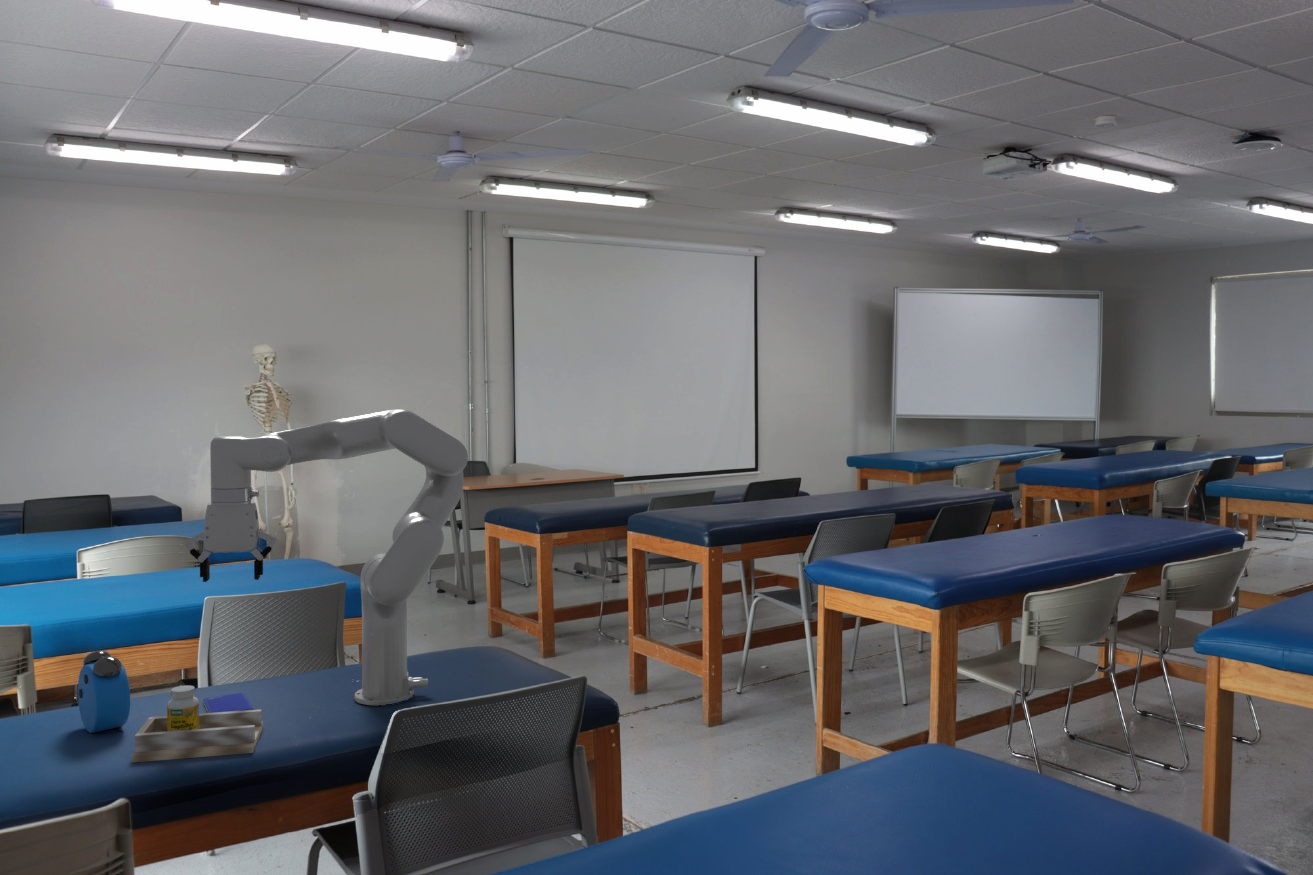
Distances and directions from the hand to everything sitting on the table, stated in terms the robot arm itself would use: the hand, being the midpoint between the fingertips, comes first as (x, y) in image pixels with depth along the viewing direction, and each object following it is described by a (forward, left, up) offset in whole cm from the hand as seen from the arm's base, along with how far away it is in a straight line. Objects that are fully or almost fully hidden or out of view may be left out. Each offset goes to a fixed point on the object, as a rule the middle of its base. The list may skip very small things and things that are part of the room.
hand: (231, 579), depth 192 cm
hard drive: (+2, -6, -29) cm, 30 cm away
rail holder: (+3, +16, -28) cm, 33 cm away
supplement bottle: (+6, +16, -27) cm, 32 cm away
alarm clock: (+23, +3, -28) cm, 37 cm away
